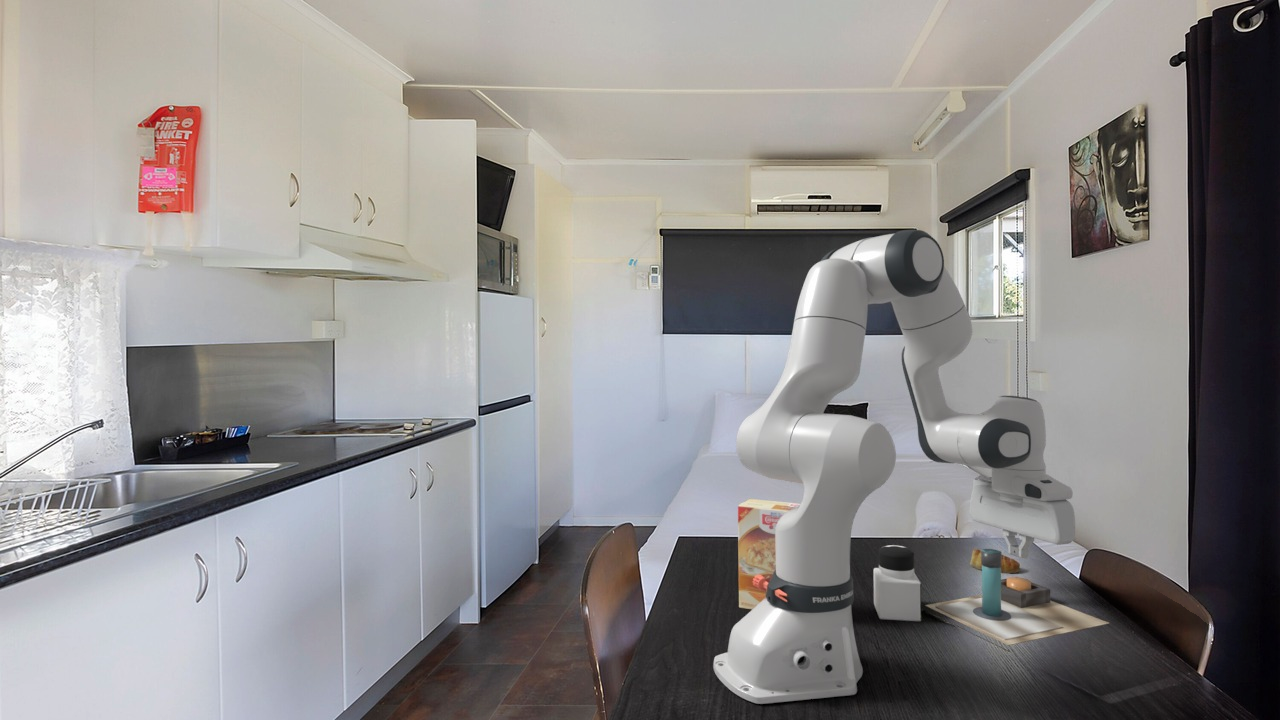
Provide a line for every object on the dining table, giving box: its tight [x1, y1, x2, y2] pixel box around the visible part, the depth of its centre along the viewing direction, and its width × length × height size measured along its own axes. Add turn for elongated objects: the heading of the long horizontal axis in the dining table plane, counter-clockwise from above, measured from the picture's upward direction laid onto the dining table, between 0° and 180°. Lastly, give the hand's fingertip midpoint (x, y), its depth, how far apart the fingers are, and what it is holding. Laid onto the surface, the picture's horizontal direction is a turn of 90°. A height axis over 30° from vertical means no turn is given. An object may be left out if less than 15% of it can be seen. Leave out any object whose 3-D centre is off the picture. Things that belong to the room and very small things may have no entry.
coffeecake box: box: [737, 498, 801, 610], centre depth 126 cm, size 15×7×20 cm, turn 62°
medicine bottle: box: [873, 544, 922, 622], centre depth 122 cm, size 7×7×12 cm
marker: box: [980, 548, 1003, 617], centre depth 118 cm, size 3×3×11 cm
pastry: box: [969, 548, 1021, 574], centre depth 146 cm, size 9×7×4 cm
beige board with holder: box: [924, 578, 1110, 652], centre depth 119 cm, size 23×18×4 cm
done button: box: [1006, 576, 1032, 591], centre depth 126 cm, size 4×4×3 cm
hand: (1018, 556), depth 125 cm, fingers closed
